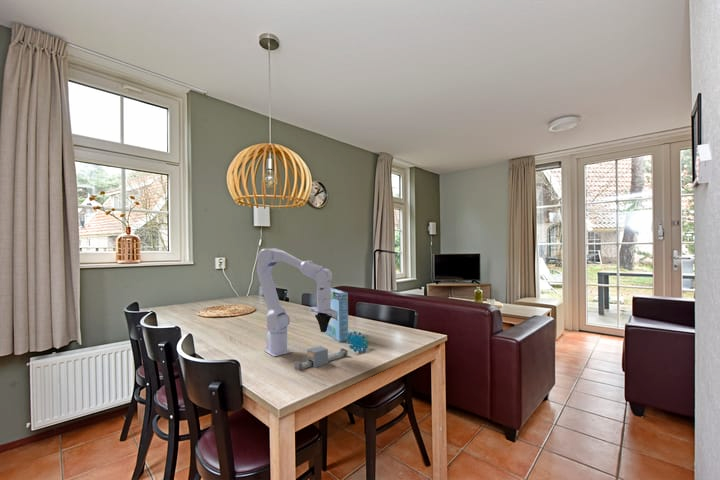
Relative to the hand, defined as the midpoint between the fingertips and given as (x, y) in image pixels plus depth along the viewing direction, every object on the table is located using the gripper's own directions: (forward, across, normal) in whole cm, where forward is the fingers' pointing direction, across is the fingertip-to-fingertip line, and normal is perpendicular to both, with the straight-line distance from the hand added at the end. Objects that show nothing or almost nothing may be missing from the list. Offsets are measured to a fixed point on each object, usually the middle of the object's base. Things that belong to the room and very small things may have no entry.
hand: (323, 331), depth 129 cm
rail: (+10, +4, -5) cm, 12 cm away
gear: (+10, +6, +15) cm, 19 cm away
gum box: (+10, -16, +22) cm, 29 cm away
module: (+10, +4, -7) cm, 13 cm away
